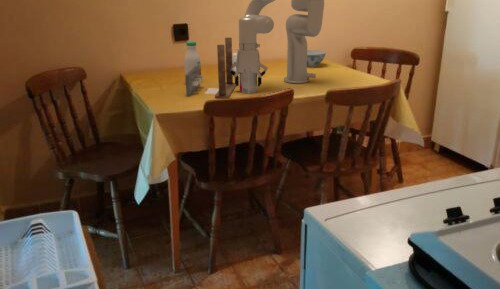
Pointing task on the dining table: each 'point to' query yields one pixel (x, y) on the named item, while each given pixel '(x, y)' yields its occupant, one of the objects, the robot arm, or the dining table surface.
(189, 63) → the milk bottle
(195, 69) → the panel
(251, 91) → the supplement box
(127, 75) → the dining table surface
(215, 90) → the pad
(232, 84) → the gate
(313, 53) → the chinaware
